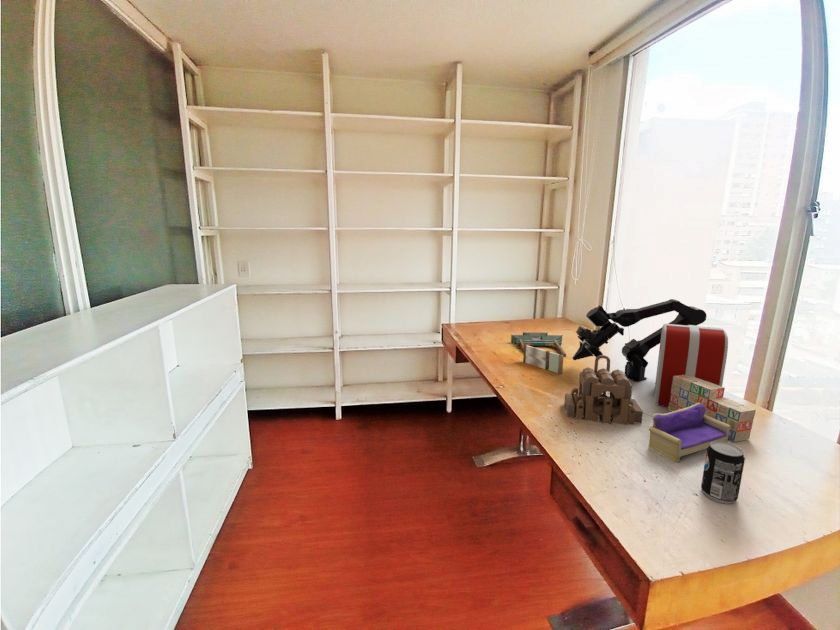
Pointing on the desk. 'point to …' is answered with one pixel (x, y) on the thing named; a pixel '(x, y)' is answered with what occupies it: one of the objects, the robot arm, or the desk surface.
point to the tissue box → (689, 357)
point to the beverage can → (722, 472)
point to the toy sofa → (685, 432)
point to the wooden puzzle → (603, 397)
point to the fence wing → (556, 363)
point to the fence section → (536, 357)
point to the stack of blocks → (712, 404)
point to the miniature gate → (538, 340)
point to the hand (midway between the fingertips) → (573, 359)
